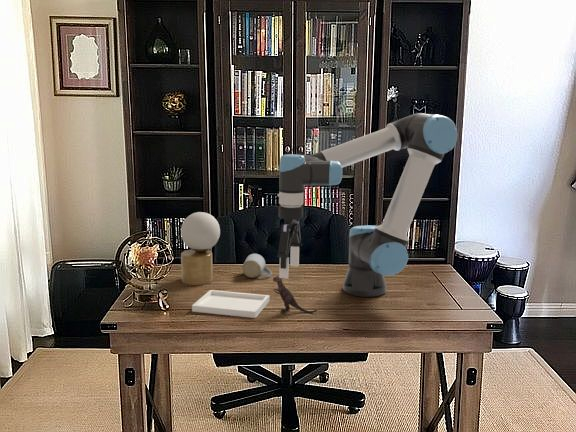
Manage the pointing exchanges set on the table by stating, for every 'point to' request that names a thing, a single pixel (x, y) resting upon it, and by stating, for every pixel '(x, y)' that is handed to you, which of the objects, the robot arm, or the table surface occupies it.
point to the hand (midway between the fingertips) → (289, 271)
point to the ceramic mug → (255, 266)
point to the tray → (231, 303)
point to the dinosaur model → (287, 297)
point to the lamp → (198, 248)
